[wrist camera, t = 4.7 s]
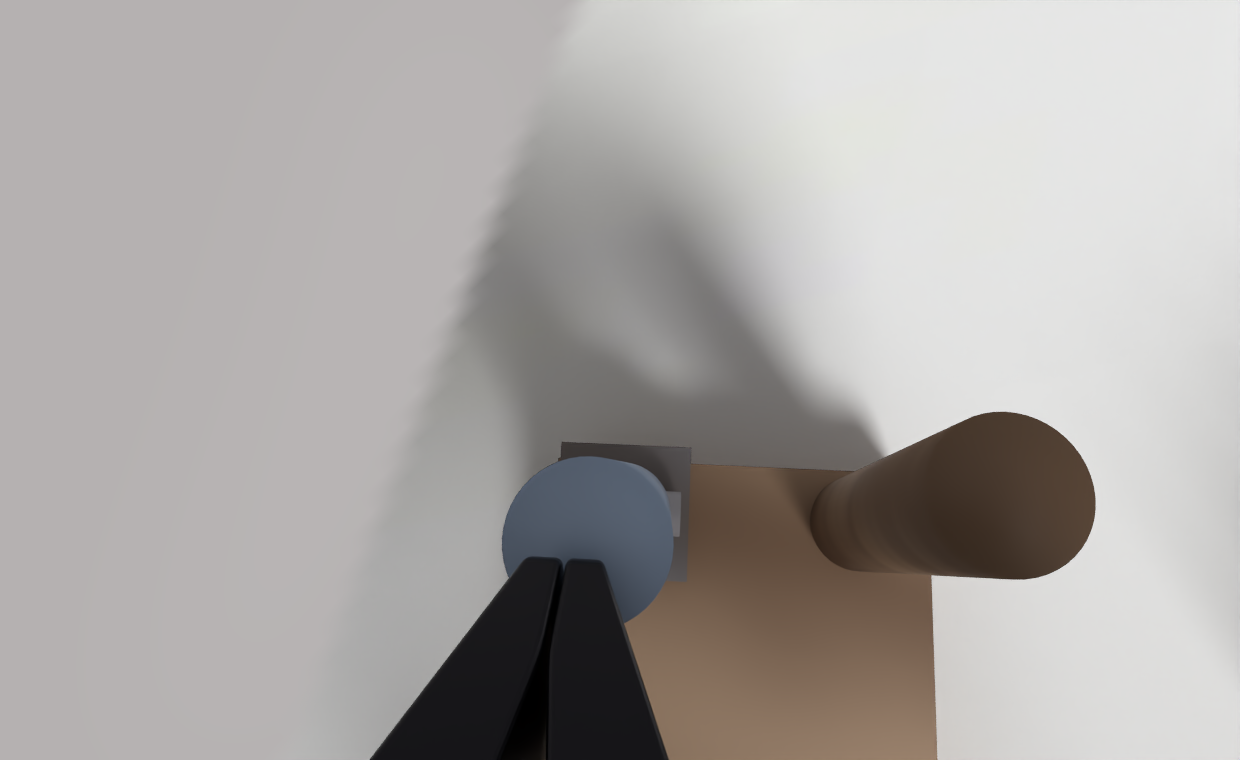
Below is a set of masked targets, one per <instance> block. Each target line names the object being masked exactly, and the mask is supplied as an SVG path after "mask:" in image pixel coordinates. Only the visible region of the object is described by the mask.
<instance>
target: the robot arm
mask: <svg viewBox="0 0 1240 760" xmlns="http://www.w3.org/2000/svg"><path fill="white" fill-rule="evenodd" d="M370 760H669V758H668V755H667V752H666V749H665V746H664V743H663V740H662V737H661V734H660V731H659V728H658V725H657V722H656V719H655V716H654V713H653V710H652V707H651V704H650V701H649V697H648V694H647V691H646V688H645V685H644V682H643V679H642V676H641V673H640V670H639V667H638V664H637V661H636V658H635V655H634V652H633V649H632V646H631V643H630V640H629V637H628V634H627V631H626V628H625V625H624V622H623V619H622V616H621V613H620V610H619V607H618V604H617V601H616V598H615V595H614V592H613V588H612V585H611V582H610V579H609V576H608V573H607V570H606V567H605V565H604V563H603V562H602V561H601V560H598V559H579V558H572V559H569V560H568V561H567V563H566V565H565V570H564V568H563V562H562V561H561V560H560V559H559V558H557V557H539V556H529V557H527V558H525V559H524V560H523V561H522V562H521V563H520V565H519V566H518V567H517V569H516V570H515V571H514V572H513V574H512V575H511V576H510V578H509V579H508V580H507V582H506V583H505V584H504V585H503V587H502V588H501V589H500V591H499V592H498V593H497V595H496V596H495V597H494V598H493V600H492V601H491V602H490V604H489V605H488V606H487V608H486V609H485V610H484V611H483V613H482V614H481V615H480V617H479V618H478V619H477V621H476V622H475V623H474V624H473V626H472V627H471V628H470V630H469V631H468V632H467V634H466V635H465V636H464V637H463V639H462V640H461V641H460V643H459V644H458V645H457V647H456V648H455V649H454V651H453V652H452V653H451V654H450V656H449V657H448V658H447V660H446V661H445V662H444V664H443V665H442V666H441V667H440V669H439V670H438V671H437V673H436V674H435V675H434V677H433V678H432V679H431V680H430V682H429V683H428V684H427V686H426V687H425V688H424V690H423V691H422V692H421V693H420V695H419V696H418V697H417V699H416V700H415V701H414V703H413V704H412V705H411V706H410V708H409V709H408V710H407V712H406V713H405V714H404V716H403V717H402V718H401V719H400V721H399V722H398V723H397V725H396V726H395V727H394V729H393V730H392V731H391V732H390V734H389V735H388V736H387V738H386V739H385V740H384V742H383V743H382V744H381V746H380V747H379V748H378V749H377V751H376V752H375V753H374V755H373V756H372V757H371V759H370Z"/></svg>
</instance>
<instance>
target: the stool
mask: <svg viewBox="0 0 1240 760" xmlns="http://www.w3.org/2000/svg"><path fill="white" fill-rule="evenodd" d="M587 456H592V457H601V458H607V459H612V460H617V461H622V462H627V463H632V464H636V465H639V466H641V467H643V468H645V469H647V470H648V471H650V472H651V473H652V474H653V475H654V476H656V477H657V478H658V480H659V481H660V482H661V484H662V485H663V487H664V489H665V491H671V492H681V517H680V536H679V537H675V536H673V545H674V548H673V558H672V563H671V567H670V571H669V573H668V576H667V579H666V581H665V583H664V585H663V587H662V589H661V590H660V592H659V593H658V595H657V596H656V598H655V599H654V600H653V601H652V602H651V604H650V605H649V606H648V607H647V608H646V609H645V610H643V611H642V612H641V613H640V614H639V615H637V616H636V617H634V618H633V619H631V620H629V621H628V622H626V623H624V625H625V628H626V631H627V634H628V637H629V640H630V643H631V646H632V649H633V652H634V655H635V658H636V661H637V664H638V667H639V670H640V673H641V676H642V679H643V682H644V685H645V688H646V691H647V694H648V697H649V701H650V704H651V707H652V710H653V713H654V716H655V719H656V722H657V725H658V728H659V731H660V734H661V737H662V740H663V743H664V746H665V749H666V752H667V755H668V758H669V760H937V737H936V706H935V676H934V645H933V615H932V584H931V575H937V576H956V577H975V578H995V579H1031V578H1037V577H1041V576H1044V575H1047V574H1050V573H1052V572H1054V571H1056V570H1058V569H1060V568H1061V567H1063V566H1064V565H1066V564H1067V563H1068V562H1069V561H1070V560H1072V559H1073V558H1074V557H1075V556H1076V555H1077V553H1078V552H1079V551H1080V550H1081V549H1082V547H1083V545H1084V544H1085V542H1086V541H1087V539H1088V536H1089V534H1090V532H1091V529H1092V526H1093V522H1094V517H1095V492H1094V486H1093V482H1092V479H1091V475H1090V473H1089V471H1088V468H1087V466H1086V464H1085V462H1084V461H1083V459H1082V457H1081V455H1080V454H1079V453H1078V451H1077V450H1076V449H1075V447H1074V446H1073V445H1072V444H1071V443H1070V442H1069V441H1068V440H1067V439H1066V438H1065V437H1064V436H1063V435H1062V434H1060V433H1059V432H1058V431H1057V430H1055V429H1054V428H1052V427H1051V426H1049V425H1048V424H1046V423H1044V422H1042V421H1040V420H1038V419H1035V418H1032V417H1029V416H1027V415H1022V414H1018V413H1011V412H991V413H984V414H980V415H977V416H973V417H971V418H969V419H967V420H964V421H962V422H960V423H958V424H956V425H953V426H951V427H949V428H947V429H945V430H943V431H941V432H938V433H936V434H934V435H932V436H930V437H928V438H926V439H923V440H921V441H919V442H917V443H915V444H913V445H911V446H908V447H906V448H904V449H902V450H900V451H898V452H896V453H893V454H891V455H889V456H887V457H885V458H883V459H881V460H878V461H876V462H874V463H872V464H870V465H868V466H866V467H863V468H861V469H859V470H857V471H833V470H811V469H790V468H768V467H746V466H724V465H703V464H691V448H685V447H662V446H640V445H618V444H595V443H573V442H562V446H561V458H559V459H558V462H559V461H562V460H566V459H569V458H575V457H587Z"/></svg>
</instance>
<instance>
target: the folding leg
mask: <svg viewBox="0 0 1240 760" xmlns="http://www.w3.org/2000/svg"><path fill="white" fill-rule="evenodd" d="M680 517H681V492H671V491H665V489H664V487H663V485H662V484H661V482H660V481H659V480H658V478H657V477H656V476H654V475H653V474H652V473H651V472H650V471H648V470H647V469H645V468H643V467H641V466H639V465H636V464H632V463H627V462H622V461H617V460H612V459H607V458H601V457H592V456H587V457H575V458H569V459H566V460H562V461H559V462H556V463H554V464H552V465H550V466H548V467H546V468H544V469H543V470H541V471H540V472H538V473H537V474H536V475H534V476H533V477H532V478H531V479H530V480H529V481H528V482H527V483H526V484H525V485H524V486H523V487H522V488H521V490H520V491H519V493H518V494H517V495H516V497H515V499H514V500H513V502H512V504H511V506H510V508H509V511H508V513H507V516H506V520H505V524H504V528H503V536H502V552H503V560H504V564H505V568H506V572H507V574H508V577H509V578H510V576H511V575H512V574H513V572H514V571H515V570H516V569H517V567H518V566H519V565H520V563H521V562H522V561H523V560H524V559H525V558H527V557H529V556H539V557H557V558H559V559H560V560H561V561H562V562H563V568H564V570H565V565H566V563H567V561H568V560H569V559H572V558H579V559H598V560H601V561H602V562H603V563H604V565H605V567H606V570H607V573H608V576H609V579H610V582H611V585H612V588H613V592H614V595H615V598H616V601H617V604H618V607H619V610H620V613H621V616H622V619H623V622H624V623H626V622H628V621H629V620H631V619H633V618H634V617H636V616H637V615H639V614H640V613H641V612H642V611H643V610H645V609H646V608H647V607H648V606H649V605H650V604H651V602H652V601H653V600H654V599H655V598H656V596H657V595H658V593H659V592H660V590H661V589H662V587H663V585H664V583H665V581H666V579H667V576H668V573H669V571H670V567H671V563H672V558H673V548H674V545H673V536H675V537H679V536H680Z"/></svg>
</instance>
